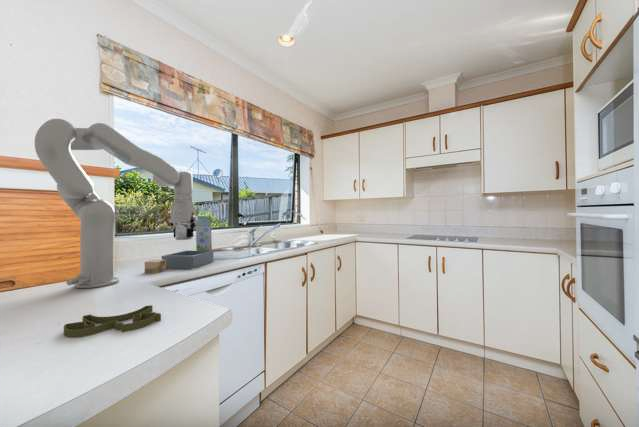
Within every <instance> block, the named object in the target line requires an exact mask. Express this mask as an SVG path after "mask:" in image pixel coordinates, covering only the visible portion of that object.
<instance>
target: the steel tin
mask: <svg viewBox="0 0 639 427" xmlns="http://www.w3.org/2000/svg"><path fill="white" fill-rule="evenodd" d="M190 225H191V224H190ZM187 229H189V228H188V226H187V223H180V224H175V237H174V239H175V240H176V241H183V240H184V241H185V240H188V241H189V240H192V238H193V237H190V238H188V237H187Z"/></svg>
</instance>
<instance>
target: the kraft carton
mask: <svg viewBox="0 0 639 427" xmlns="http://www.w3.org/2000/svg"><path fill="white" fill-rule="evenodd" d="M166 270H167V268H166V260H162V259H151V260H148V261H144V273H145V274H148V273H149V274H158V273H162V272H164V271H166Z"/></svg>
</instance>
